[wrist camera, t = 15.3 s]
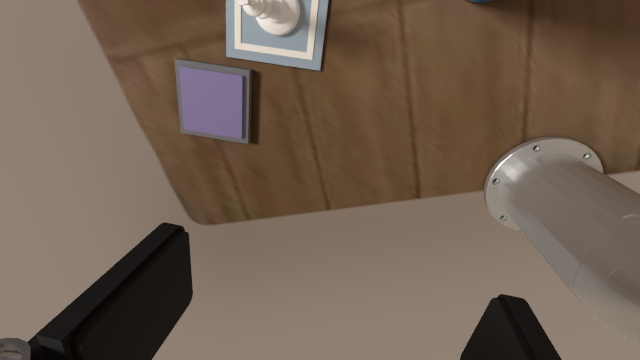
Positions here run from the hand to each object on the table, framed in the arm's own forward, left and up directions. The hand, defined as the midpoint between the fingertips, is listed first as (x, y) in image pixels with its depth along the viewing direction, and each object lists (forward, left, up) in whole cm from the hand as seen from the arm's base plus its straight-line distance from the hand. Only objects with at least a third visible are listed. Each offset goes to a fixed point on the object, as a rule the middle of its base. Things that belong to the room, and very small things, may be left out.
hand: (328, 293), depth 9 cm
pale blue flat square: (+10, -9, -29) cm, 32 cm away
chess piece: (+10, -9, -29) cm, 32 cm away
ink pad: (+17, +2, -29) cm, 34 cm away
